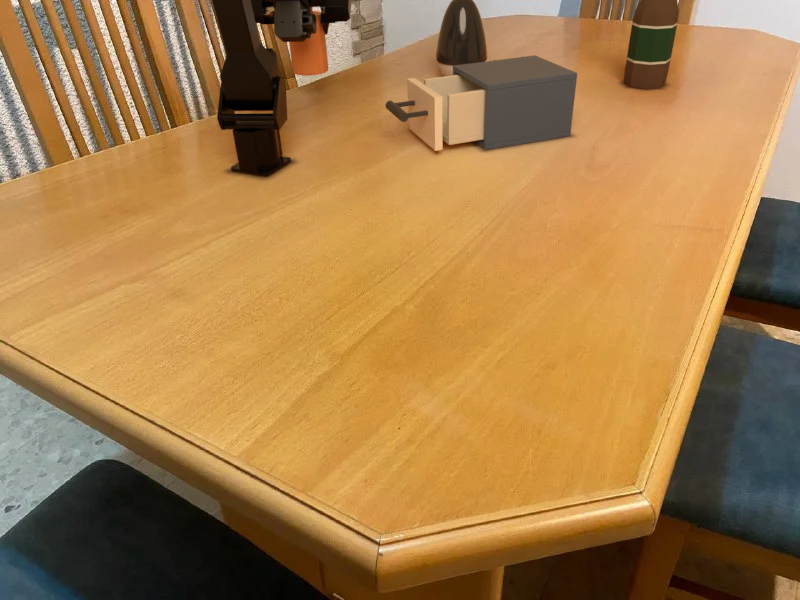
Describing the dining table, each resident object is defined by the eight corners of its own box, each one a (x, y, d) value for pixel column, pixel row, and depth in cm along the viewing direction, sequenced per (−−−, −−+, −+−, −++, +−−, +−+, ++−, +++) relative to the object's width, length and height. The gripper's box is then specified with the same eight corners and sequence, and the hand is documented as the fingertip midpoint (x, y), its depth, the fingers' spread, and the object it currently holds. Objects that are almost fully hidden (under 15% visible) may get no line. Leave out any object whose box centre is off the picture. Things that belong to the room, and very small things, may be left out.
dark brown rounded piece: (485, 70, 134) (488, -9, 126) (486, 83, 126) (489, -1, 117) (437, 71, 135) (437, -8, 127) (434, 84, 127) (434, 1, 118)
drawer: (406, 155, 92) (404, 101, 88) (382, 132, 102) (379, 82, 97) (517, 137, 97) (520, 85, 93) (484, 116, 106) (486, 68, 102)
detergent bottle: (316, 76, 117) (308, 2, 110) (286, 74, 119) (277, 1, 113) (334, 68, 122) (328, -4, 115) (305, 65, 124) (297, -5, 117)
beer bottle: (623, 89, 119) (646, -58, 106) (621, 78, 126) (643, -62, 112) (667, 90, 118) (696, -59, 104) (663, 79, 124) (690, -63, 111)
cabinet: (485, 150, 96) (488, 85, 90) (452, 125, 106) (452, 65, 100) (570, 136, 99) (577, 72, 94) (530, 113, 109) (535, 55, 104)
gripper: (224, 18, 102) (255, 72, 117) (339, 16, 100) (355, 71, 116) (231, -42, 104) (260, 18, 120) (343, -45, 103) (358, 16, 118)
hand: (308, 32), depth 118 cm, fingers closed on detergent bottle, 6 cm apart
